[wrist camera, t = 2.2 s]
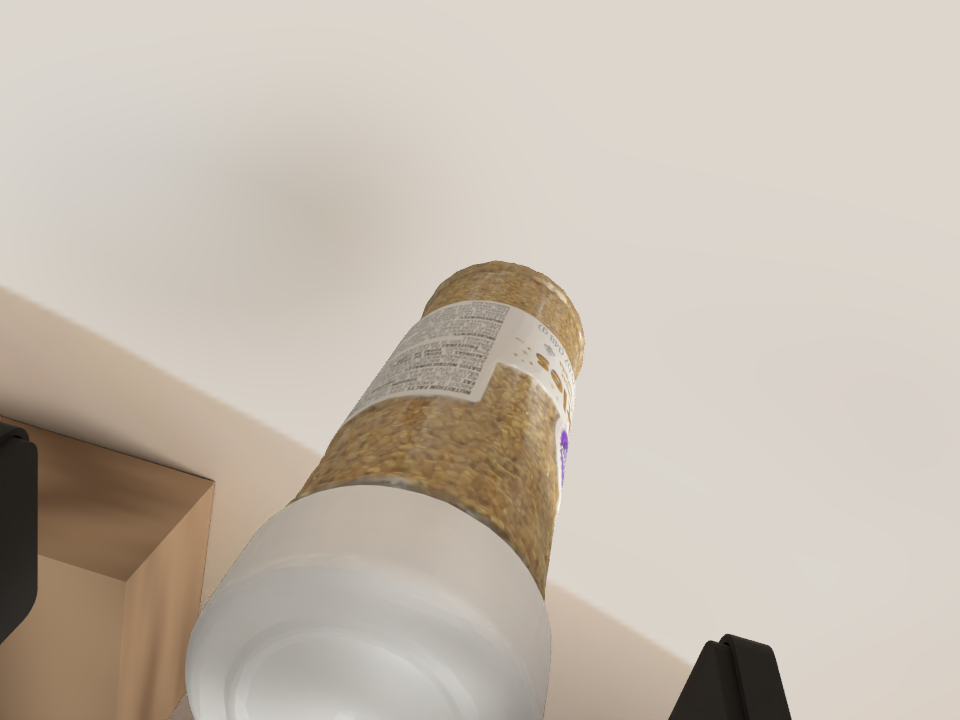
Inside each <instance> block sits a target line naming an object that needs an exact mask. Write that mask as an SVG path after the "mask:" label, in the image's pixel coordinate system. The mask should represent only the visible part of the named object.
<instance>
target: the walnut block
mask: <svg viewBox="0 0 960 720" xmlns="http://www.w3.org/2000/svg"><path fill="white" fill-rule="evenodd" d="M0 422H3V423H7V424H10V425H14V426H17V427H21V428H23V429H24V430H26V432H27V433H28V435H29V441H30V442H32V443H34V444H35V445H36V447H37V450H38V591H37V597H36V600H35V603H34V605H33V607H32V609H31V611H30V613H29V614H28V616H27V617H26V618H25V619H24V620H23V622H22V623H21V624H20V625H19V626H18V627H17V628H16V629H15V630H14V631H13V632H12V633H11V634H10V635H9V636H8V637H7V638H6V639H5V640H4V641H3V642H2V644H1V645H0V720H168V719H169V717H170V716H171V714H172V713H173V711H174V709H175V708H176V706H177V705H178V703H179V702H180V700H181V699H182V697H183V696H184V694H185V693H186V684H185V662H186V652H187V647H188V643H189V639H190V635H191V632H192V630H193V628H194V626H195V624H196V622H197V620H198V616H199V608H200V600H201V592H202V584H203V576H204V568H205V560H206V552H207V544H208V535H209V527H210V519H211V511H212V503H213V495H214V487H215V482H213V481H210V480H207V479H203V478H200V477H197V476H194V475H190V474H187V473H184V472H181V471H177V470H174V469H171V468H167V467H164V466H161V465H158V464H154V463H151V462H148V461H145V460H141V459H138V458H135V457H132V456H128V455H125V454H122V453H119V452H115V451H112V450H109V449H105V448H102V447H99V446H96V445H92V444H89V443H86V442H83V441H79V440H76V439H73V438H70V437H66V436H63V435H60V434H56V433H53V432H50V431H47V430H43V429H40V428H37V427H34V426H30V425H27V424H24V423H21V422H17V421H14V420H11V419H8V418H4V417H1V416H0Z"/></svg>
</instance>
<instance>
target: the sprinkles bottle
mask: <svg viewBox="0 0 960 720" xmlns="http://www.w3.org/2000/svg"><path fill="white" fill-rule="evenodd" d="M584 345H585V339H584V334H583V328H582V325H581V321H580V317H579V315H578V313H577V311H576V309H575V308H574V306H573V304H572V302H571V301H570V299H569V298H568V296H567V295H566V293H565V292H564V290H563V289H561V288H560V287H559V286H558V285H556V284H555V283H554V282H553V281H552V280H551V279H549V278H548V277H547V276H545V275H544V274H542V273H539V272H536V271H534V270H532V269H530V268H529V267H525V266H522V265H517V264H515V263H507V262H502V261H492V262H487V263H483V264H476V265H472V266H470V267H467V268H465V269H463V270H460V271H458V272H456V273H455V274H453V275H452V276H451V277H450V278H448V279H447V280H445V281H444V282H443V283H442V284H440V285H439V287H438V288H437V289H436V291H435V293H434V295H433V296H432V297H431V299H430V300H429V301H428V303H427V305H426V307H425V309H424V312H423V315H422V318H421V320H420V321H419V322H418V323H417V324H415V325H414V326H413V327H412V328H411V330H410V331H409V332H408V333H407V334H406V335H405V337H404V338H403V340H402V341H401V342H400V344H399V345H398V347H397V348H396V350H395V351H394V352H393V354H392V355H391V357H390V358H389V359H388V361H387V362H386V364H385V365H384V366H383V368H382V369H381V371H380V372H379V373H378V375H377V376H376V378H375V379H374V380H373V382H372V383H371V385H370V386H369V387H368V389H367V390H366V392H365V393H364V395H363V396H362V398H361V399H360V400H359V402H358V403H357V404H356V406H355V407H354V409H353V410H352V411H351V413H350V414H349V416H348V417H347V418H346V420H345V421H344V423H343V424H342V425H341V427H340V428H339V430H338V431H337V433H336V434H335V436H334V438H333V439H332V441H331V442H330V444H329V446H328V448H327V450H326V453H325V456H324V457H323V458H322V459H321V461H320V464H319V465H318V467H317V468H316V469H315V470H314V471H313V473H312V474H311V476H310V477H309V478H308V480H307V482H306V483H305V485H304V487H303V488H302V489H301V491H300V492H299V493H298V495H297V496H296V498H295V499H293V500H292V501H291V502H290V503H289V504H288V505H287V506H286V507H285V508H284V509H283V510H281V511H280V512H278V513H277V514H276V515H274V516H273V517H271V518H270V519H269V520H268V521H267V522H266V523H265V524H264V525H263V526H262V527H261V528H260V529H259V530H258V531H257V532H256V534H255V535H254V536H253V538H252V539H251V540H250V542H249V543H248V544H247V546H246V547H245V548H244V550H243V551H242V553H241V554H240V555H239V557H238V558H237V559H236V561H235V562H234V563H233V565H232V566H231V568H230V569H229V571H228V572H227V574H226V575H225V577H224V578H223V580H222V581H221V583H220V584H219V586H218V587H217V589H216V590H215V592H214V593H213V595H212V596H211V598H210V599H209V600H208V602H207V604H206V605H205V607H204V609H203V610H202V612H201V613H200V615H199V617H198V620H197V622H196V624H195V626H194V628H193V630H192V632H191V635H190V639H189V643H188V647H187V652H186V662H185V684H186V691H187V696H188V701H189V705H190V708H191V711H192V714H193V717H194V720H543V716H544V709H545V703H546V697H547V690H548V680H549V670H550V660H551V628H550V623H549V619H548V614H547V611H546V607H545V604H544V600H545V585H546V577H547V571H548V566H549V557H550V551H551V544H552V536H553V531H554V523H555V521H556V518H557V515H558V511H559V507H560V502H561V492H562V486H563V479H564V469H565V461H566V455H567V449H568V443H569V436H570V431H571V425H572V418H573V411H574V404H575V380H576V378H577V376H578V374H579V372H580V369H581V367H582V362H583V353H584Z"/></svg>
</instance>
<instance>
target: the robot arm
mask: <svg viewBox="0 0 960 720" xmlns="http://www.w3.org/2000/svg"><path fill="white" fill-rule="evenodd" d="M37 591H38V450H37V447H36V445H35V444H34V443H32V442H30V441H29V435H28V433H27V432H26V430H24V429H23V428H21V427H17V426H14V425H10V424H7V423H3V422H0V645H1V644H2V642H3V641H4V640H5V639H6V638H7V637H8V636H9V635H10V634H11V633H12V632H13V631H14V630H15V629H16V628H17V627H18V626H19V625H20V624H21V623H22V622H23V620H24V619H25V618H26V617H27V616H28V614H29V613H30V611H31V609H32V607H33V605H34V603H35V600H36V597H37ZM668 720H792V719H791V716H790V712H789V708H788V704H787V700H786V697H785V693H784V689H783V685H782V681H781V677H780V674H779V670H778V666H777V662H776V658H775V655H774V652H773V650H772V648H771V647H770V646H768V645H765V644H762V643H758V642H755V641H751V640H748V639H744V638H741V637H737V636H734V635H730V634H725V635H724V636H723V637H722V638H721V640H720V641H719V643H718V642H715V641H708V642H707V643H706V644H705V646H704V647H703V649H702V651H701V653H700V655H699V658H698V660H697V662H696V664H695V666H694V668H693V670H692V672H691V674H690V676H689V678H688V680H687V682H686V684H685V686H684V688H683V690H682V692H681V694H680V697H679V699H678V701H677V703H676V705H675V707H674V709H673V711H672V713H671V715H670V717H669V719H668Z"/></svg>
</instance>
